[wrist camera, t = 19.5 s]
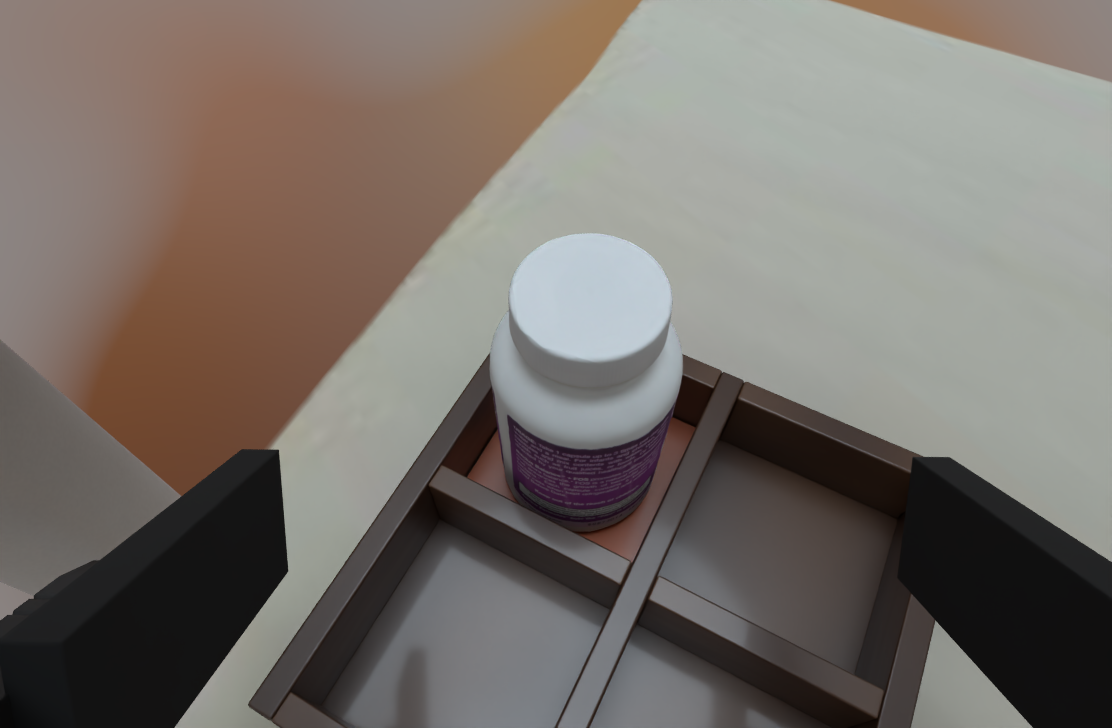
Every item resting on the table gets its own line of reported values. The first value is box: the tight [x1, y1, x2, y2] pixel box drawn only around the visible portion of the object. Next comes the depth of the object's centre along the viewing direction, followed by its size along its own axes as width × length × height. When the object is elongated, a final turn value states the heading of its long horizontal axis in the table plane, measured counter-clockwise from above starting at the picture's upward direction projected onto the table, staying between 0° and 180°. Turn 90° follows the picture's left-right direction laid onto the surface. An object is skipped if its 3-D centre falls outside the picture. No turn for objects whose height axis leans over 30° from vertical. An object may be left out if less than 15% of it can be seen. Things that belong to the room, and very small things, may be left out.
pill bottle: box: [489, 233, 683, 532], centre depth 21 cm, size 5×5×10 cm
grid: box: [248, 353, 935, 728], centre depth 22 cm, size 15×15×4 cm
